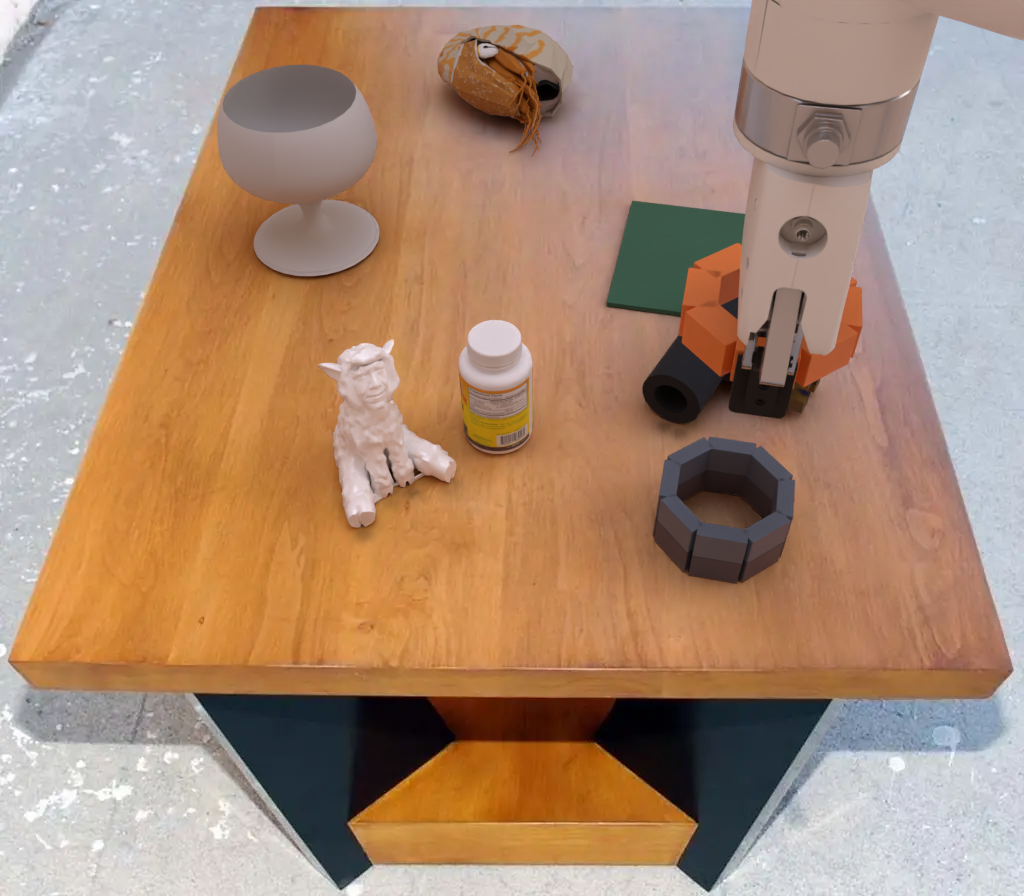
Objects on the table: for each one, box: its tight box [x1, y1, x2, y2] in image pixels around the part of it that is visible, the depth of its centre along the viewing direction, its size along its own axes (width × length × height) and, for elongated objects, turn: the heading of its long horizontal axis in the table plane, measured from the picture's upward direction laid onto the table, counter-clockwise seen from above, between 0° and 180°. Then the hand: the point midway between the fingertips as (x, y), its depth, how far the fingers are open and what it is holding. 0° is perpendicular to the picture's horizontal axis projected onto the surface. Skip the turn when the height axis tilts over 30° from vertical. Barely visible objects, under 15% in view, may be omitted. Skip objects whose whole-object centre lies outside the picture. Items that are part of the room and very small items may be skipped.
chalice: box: [216, 64, 381, 277], centre depth 92 cm, size 14×14×15 cm
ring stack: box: [652, 436, 796, 584], centre depth 72 cm, size 9×9×5 cm
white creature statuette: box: [317, 338, 458, 529], centre depth 74 cm, size 10×9×12 cm
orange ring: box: [677, 243, 863, 389], centre depth 59 cm, size 10×10×2 cm
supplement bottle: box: [457, 319, 534, 455], centre depth 77 cm, size 6×6×10 cm
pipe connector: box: [641, 297, 822, 425], centre depth 82 cm, size 12×5×15 cm
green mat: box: [605, 200, 745, 317], centre depth 94 cm, size 16×16×1 cm
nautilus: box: [436, 24, 574, 158], centre depth 110 cm, size 8×22×15 cm
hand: (758, 392), depth 58 cm, fingers closed on orange ring, 2 cm apart
